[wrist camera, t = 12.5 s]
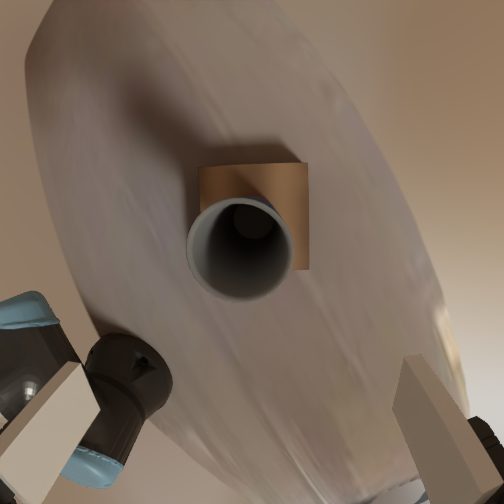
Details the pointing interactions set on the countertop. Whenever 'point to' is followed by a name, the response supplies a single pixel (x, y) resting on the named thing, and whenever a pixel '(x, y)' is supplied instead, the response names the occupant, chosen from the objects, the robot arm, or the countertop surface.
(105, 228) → the countertop surface
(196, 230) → the cup
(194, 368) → the countertop surface
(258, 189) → the base block
